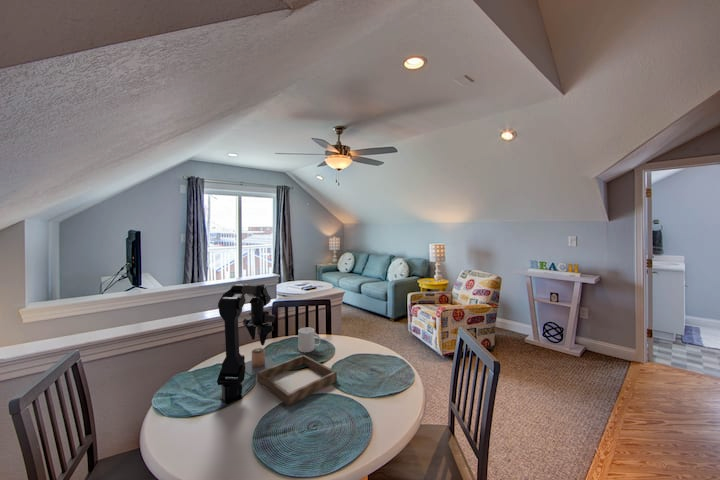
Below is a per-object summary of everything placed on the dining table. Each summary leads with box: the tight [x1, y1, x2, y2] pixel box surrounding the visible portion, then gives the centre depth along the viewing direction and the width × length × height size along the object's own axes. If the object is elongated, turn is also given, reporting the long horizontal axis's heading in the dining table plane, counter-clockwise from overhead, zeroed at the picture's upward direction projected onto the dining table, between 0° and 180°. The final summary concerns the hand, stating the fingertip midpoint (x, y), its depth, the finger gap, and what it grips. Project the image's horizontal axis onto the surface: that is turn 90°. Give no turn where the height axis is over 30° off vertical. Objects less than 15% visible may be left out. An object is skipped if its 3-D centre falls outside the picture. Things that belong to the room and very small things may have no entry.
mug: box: [297, 326, 321, 354], centre depth 161 cm, size 9×12×11 cm
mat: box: [245, 355, 279, 377], centre depth 144 cm, size 14×14×1 cm
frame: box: [256, 354, 338, 407], centre depth 130 cm, size 24×24×4 cm
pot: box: [251, 347, 266, 368], centre depth 143 cm, size 6×6×7 cm
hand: (258, 342), depth 143 cm, fingers open, 9 cm apart
